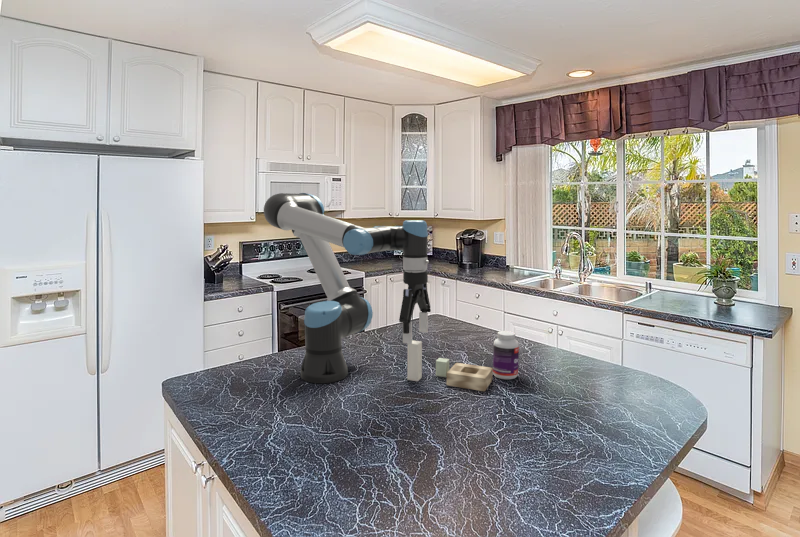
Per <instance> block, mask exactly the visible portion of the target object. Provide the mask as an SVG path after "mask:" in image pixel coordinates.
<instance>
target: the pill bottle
mask: <svg viewBox="0 0 800 537" xmlns="http://www.w3.org/2000/svg"><path fill="white" fill-rule="evenodd" d="M492 350H493V353H492V354H493V355H492V368H493V375H494V377H495V378H497V379H500V380H514V379H516V378H517V377H518V375H519V356H520V343H519V340H517V339H516V333H515V332H513V331H510V330H500V331H498V332H497V338H496V339H494V341H493V348H492Z"/></svg>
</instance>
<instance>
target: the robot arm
mask: <svg viewBox="0 0 800 537" xmlns="http://www.w3.org/2000/svg"><path fill="white" fill-rule="evenodd" d="M324 213H325V207H324V203H323V202H322V201H321V199H320V198H319V197H318V196H316V195H314V194H310V193H308V192H307V193H305V192H300V193H285V192H284V193H283V192H280V193H275V194H273V195H271V196H269V198H268V199H267V200H266V201H265V204H264V205H263V216H264V219H265V220H266V222H268V224H270V225H271V226H272V227H273V228H277V229H280V230H283V231H290V230H291V232H292V234H293V236H294V237H296V238H299V239H300V242H301V243H302V246H303V248H304V250H305V251H306V254H307V256H308V259H309V260H310V263H311V265H312V267H313V269H314V272H315V274H316V276H317V278H318V280H319V283H320V285H321V287H322V289H323V291H324V293H325V295H326V296H325V297H327V300H323V301H318V302H314V303H312V304H309V305H308V306H307V307H306V308H305V311H304V318H303V323H304V342H305V343H304V345H305V351H304V352H305V354H304V357H303V361H302V363H301V367H300V378H301V379H302V381H305V382H308V383H312V384H329V383H335V382H339V381H341V380H344V379H345V378H346V377H347V376H348V375H349V374H348V373H349V371H348V370H349V368H348V365H347V362H346V359H345V357H344V353H343V347H342V346H343V345H342V344H343V339H344V338H347V337H350V336H352V335H354V334H359V333H361V332H362V331H364V330H365V329H368V328H369V326H370V324H371V323H372V319H373V314H374V312H373V307H372V304H371V303H370V302H369V300H367V299H366V298H364V297H361V296H359V293H358V291H357V289H355V288H352V287H351V286H350V284H349V283H348V279H346V276H345V274H344V272H343V269H342V267H341V265H340V264H339V261H338V259H337V257H336V255H335V253H334V251H333V249H332V246H331V244H333V245H336V246H339V247H342V248H344V250H345V251H346V252H347V253H348V254H350V255H352V256H364V255H367V254H371V253H372V254H373V253H379V252H385V251H398V252H399V251H402V269H403V273H402V274H403V278H402V280H403V284H405V285H407V288H404V289H403V291H402V302H401V306H400V313H399V317H398V318H399V319H398V320H399V323H402V344H407V345H408V344H412V340H413V322H412V318H413V313H414V310H415V306H416V305H417V306H418V308H419V310H420V311H418V319H419V320H418V321H419V322H418V323H419V324H418V328H419V329H418V332H419V333H428V332H429V329H428V328H429V322H428V321H429V313H430V312H432V310H431V304H430V303H431V301H430V297H429V293H428V284H427V283H428V278H429V277H428V274H429V273H428V271H427V270H428V264H429V263H430V261H429V260H428V239H429V238H428V236H429V233H428V223H427V222H426V220H422V219H421V220H420V219H419V220H415V219H413V220H411V219H409V220H404V221H402V226H390V225H389V226H388V225H375V226H373V227H362V226H360V225H355V224H353V223H350V222H346V221H344V220H341V219H337V218H334V217H331V216H328V215H326V214H324Z"/></svg>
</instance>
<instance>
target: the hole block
mask: <svg viewBox="0 0 800 537" xmlns="http://www.w3.org/2000/svg"><path fill="white" fill-rule="evenodd" d="M493 380H494V379H493V367H489V366H483V365H476V364H475V365H474V364H468V363H461V362H456V363H454V364H453V365H452V367H450V368H449V371H448V372H447V377H446V386H450V387H455V388H461V389H468V390H475V391H478V392H486V390H487V389H488V388H489V386H490V384H491V383H492V382H493Z"/></svg>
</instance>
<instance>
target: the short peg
mask: <svg viewBox="0 0 800 537" xmlns="http://www.w3.org/2000/svg"><path fill="white" fill-rule="evenodd" d="M449 370H450V359H449V358H443V357H438V358H437V359H436V360H435V376H436V377H442V378H447V372H448V371H449Z"/></svg>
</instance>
